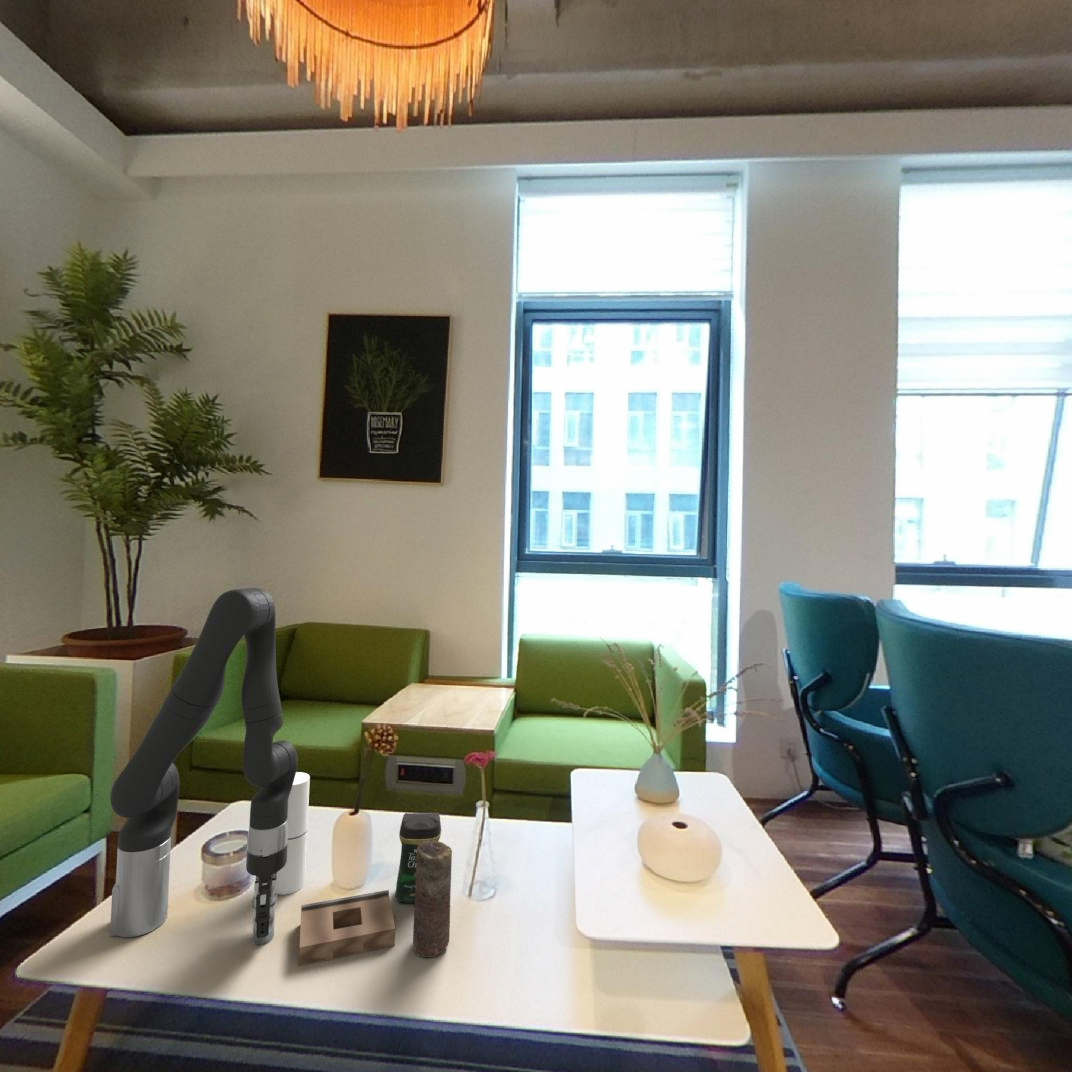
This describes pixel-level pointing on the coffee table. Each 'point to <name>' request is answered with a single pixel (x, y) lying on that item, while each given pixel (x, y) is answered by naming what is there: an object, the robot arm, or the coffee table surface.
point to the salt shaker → (271, 924)
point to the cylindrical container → (295, 837)
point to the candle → (432, 899)
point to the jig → (330, 914)
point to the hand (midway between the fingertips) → (263, 925)
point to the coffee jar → (414, 849)
